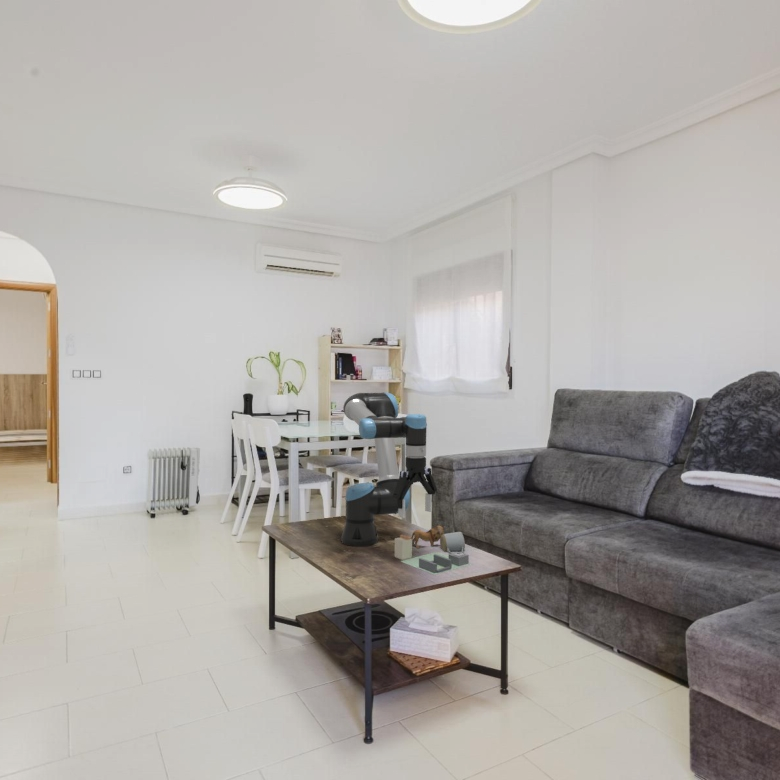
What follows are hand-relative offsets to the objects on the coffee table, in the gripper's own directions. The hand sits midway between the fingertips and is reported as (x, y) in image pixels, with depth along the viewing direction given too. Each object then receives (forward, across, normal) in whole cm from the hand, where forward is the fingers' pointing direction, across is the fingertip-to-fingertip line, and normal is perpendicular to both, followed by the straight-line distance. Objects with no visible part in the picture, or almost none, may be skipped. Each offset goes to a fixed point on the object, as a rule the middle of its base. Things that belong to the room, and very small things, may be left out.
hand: (415, 514), depth 205 cm
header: (+16, -3, -13) cm, 21 cm away
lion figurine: (+18, +15, +9) cm, 25 cm away
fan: (+16, +7, -15) cm, 23 cm away
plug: (+17, -3, +3) cm, 18 cm away
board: (+17, +1, -9) cm, 19 cm away
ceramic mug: (+18, +18, -4) cm, 25 cm away
